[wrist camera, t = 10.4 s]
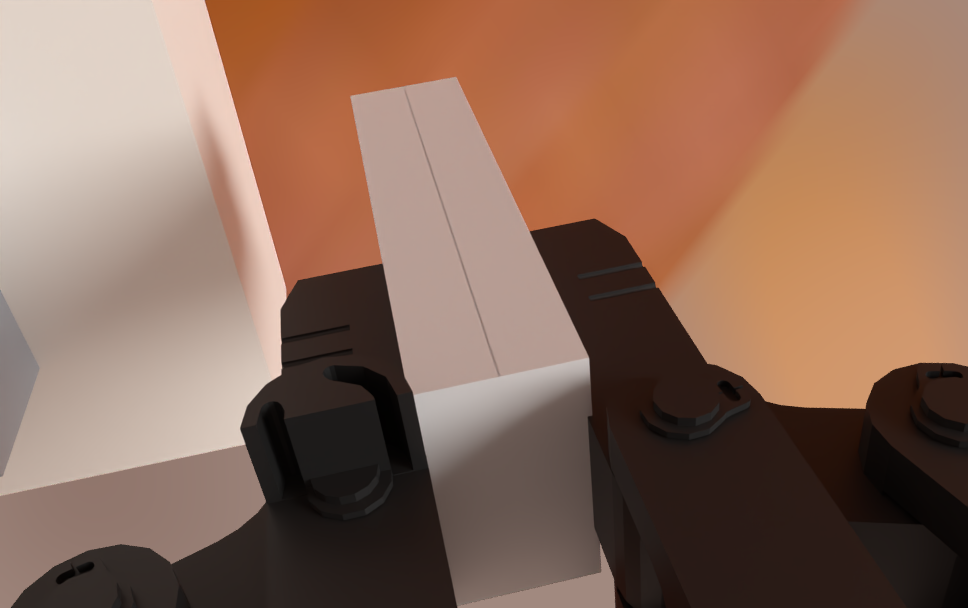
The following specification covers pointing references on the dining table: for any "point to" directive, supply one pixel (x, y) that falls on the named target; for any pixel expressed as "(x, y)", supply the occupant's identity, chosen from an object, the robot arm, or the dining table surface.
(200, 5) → the raised board
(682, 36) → the dining table surface
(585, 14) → the dining table surface
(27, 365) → the slate tile
